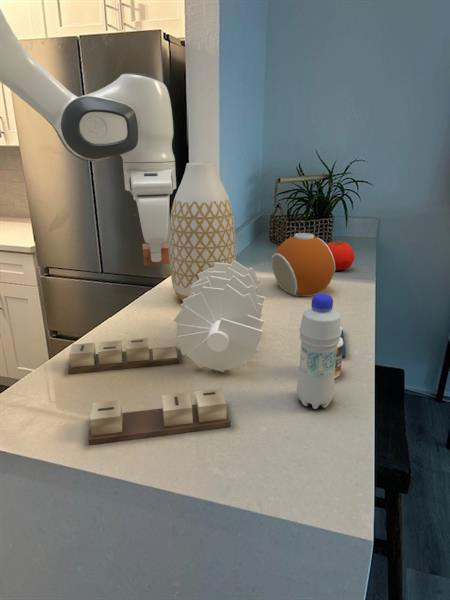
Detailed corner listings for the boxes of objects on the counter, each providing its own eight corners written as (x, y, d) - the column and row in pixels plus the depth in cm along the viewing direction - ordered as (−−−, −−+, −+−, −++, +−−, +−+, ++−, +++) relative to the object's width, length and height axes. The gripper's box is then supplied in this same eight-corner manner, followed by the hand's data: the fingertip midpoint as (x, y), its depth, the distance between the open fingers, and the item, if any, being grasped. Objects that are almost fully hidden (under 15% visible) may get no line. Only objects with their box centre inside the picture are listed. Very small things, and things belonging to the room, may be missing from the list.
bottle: (295, 389, 79) (301, 287, 73) (332, 392, 78) (342, 289, 72) (295, 410, 73) (301, 300, 66) (335, 414, 72) (346, 303, 65)
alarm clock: (343, 295, 129) (349, 238, 123) (293, 303, 122) (296, 243, 116) (308, 277, 145) (311, 226, 139) (262, 284, 139) (263, 230, 133)
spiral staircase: (196, 394, 85) (210, 335, 108) (278, 364, 81) (275, 310, 104) (151, 318, 80) (176, 273, 103) (237, 281, 75) (243, 243, 98)
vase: (162, 307, 120) (154, 164, 107) (184, 286, 137) (179, 161, 124) (227, 312, 116) (226, 165, 103) (241, 291, 133) (242, 161, 120)
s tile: (144, 265, 77) (142, 248, 76) (143, 259, 81) (142, 243, 80) (169, 264, 78) (168, 247, 77) (167, 257, 82) (166, 241, 81)
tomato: (328, 263, 163) (331, 236, 159) (359, 269, 154) (362, 241, 151) (311, 268, 156) (313, 240, 152) (341, 276, 147) (344, 246, 144)
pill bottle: (326, 383, 81) (330, 335, 78) (304, 371, 86) (307, 325, 82) (346, 374, 85) (351, 328, 81) (324, 363, 89) (327, 319, 86)
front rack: (88, 445, 65) (85, 422, 64) (92, 421, 71) (89, 400, 69) (230, 426, 69) (230, 405, 68) (223, 405, 75) (223, 385, 73)
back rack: (68, 374, 85) (65, 355, 84) (72, 360, 91) (70, 342, 89) (179, 363, 89) (178, 345, 88) (176, 350, 95) (175, 333, 93)
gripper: (132, 175, 84) (138, 245, 88) (131, 185, 65) (138, 273, 69) (165, 174, 85) (169, 243, 89) (173, 183, 66) (177, 270, 71)
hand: (155, 256), depth 79 cm, fingers closed on s tile, 4 cm apart
